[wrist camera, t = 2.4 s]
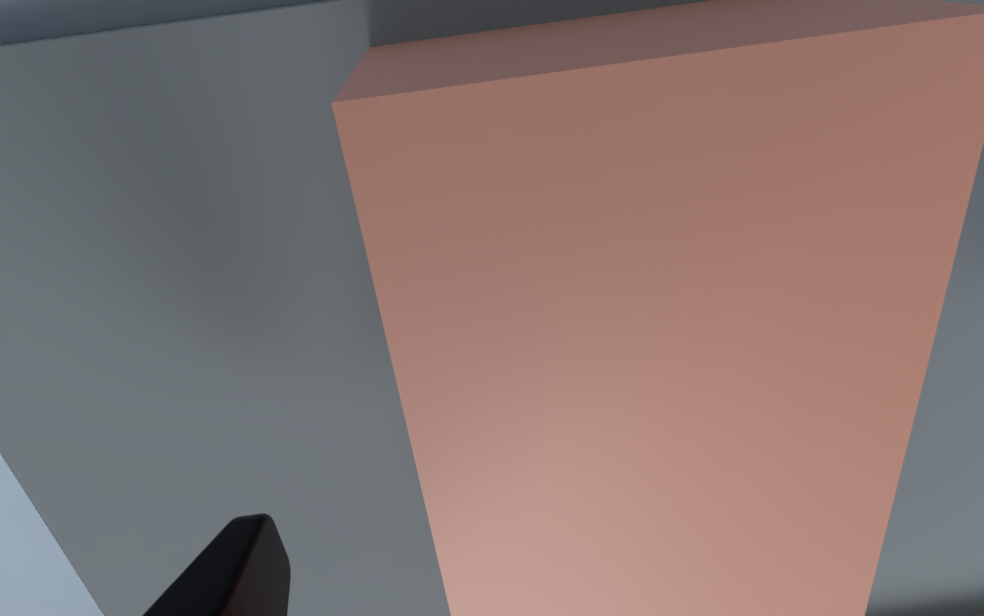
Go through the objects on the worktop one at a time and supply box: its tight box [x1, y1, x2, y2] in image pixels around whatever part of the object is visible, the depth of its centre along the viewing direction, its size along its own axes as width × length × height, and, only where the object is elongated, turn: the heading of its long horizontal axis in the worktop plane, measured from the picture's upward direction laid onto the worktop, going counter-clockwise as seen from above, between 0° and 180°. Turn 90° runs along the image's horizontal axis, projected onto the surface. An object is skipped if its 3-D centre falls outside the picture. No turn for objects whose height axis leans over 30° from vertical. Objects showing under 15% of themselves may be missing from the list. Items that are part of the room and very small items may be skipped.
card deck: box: [331, 0, 984, 616], centre depth 8 cm, size 5×10×3 cm, turn 7°
